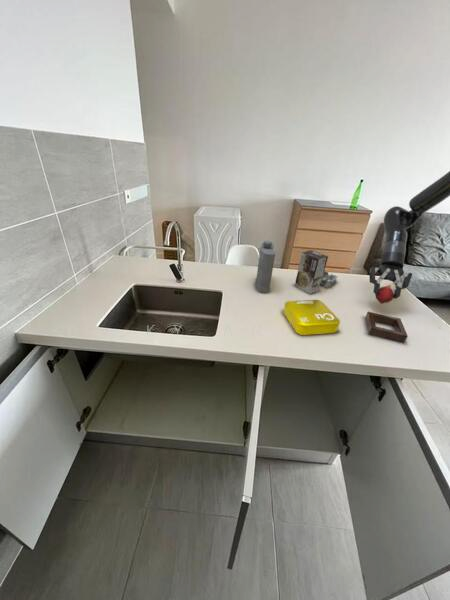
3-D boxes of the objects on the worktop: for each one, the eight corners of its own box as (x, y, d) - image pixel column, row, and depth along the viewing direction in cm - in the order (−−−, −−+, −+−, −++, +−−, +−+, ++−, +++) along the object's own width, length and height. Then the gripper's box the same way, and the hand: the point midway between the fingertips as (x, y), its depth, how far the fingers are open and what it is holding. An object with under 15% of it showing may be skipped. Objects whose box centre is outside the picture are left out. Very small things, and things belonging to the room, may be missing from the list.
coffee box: (319, 290, 108) (329, 256, 99) (309, 294, 104) (319, 259, 96) (303, 282, 114) (311, 249, 106) (293, 285, 111) (301, 251, 102)
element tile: (317, 308, 95) (320, 298, 92) (339, 332, 82) (343, 321, 80) (281, 310, 92) (283, 300, 90) (298, 336, 80) (301, 324, 77)
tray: (397, 325, 88) (400, 318, 86) (403, 343, 79) (407, 336, 78) (365, 317, 91) (367, 311, 89) (368, 334, 82) (371, 327, 81)
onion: (373, 305, 93) (381, 287, 88) (371, 298, 97) (378, 280, 93) (390, 308, 91) (399, 290, 87) (387, 301, 95) (396, 283, 91)
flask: (255, 277, 116) (261, 235, 106) (268, 278, 116) (274, 237, 105) (255, 292, 104) (261, 247, 93) (269, 293, 103) (276, 248, 93)
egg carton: (322, 276, 121) (324, 269, 118) (337, 281, 116) (339, 274, 114) (313, 283, 114) (315, 275, 111) (328, 289, 109) (331, 280, 107)
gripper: (375, 247, 92) (368, 288, 89) (419, 254, 88) (413, 297, 85) (369, 256, 99) (361, 294, 96) (409, 262, 95) (403, 303, 92)
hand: (386, 295), depth 90 cm, fingers closed on onion, 5 cm apart
